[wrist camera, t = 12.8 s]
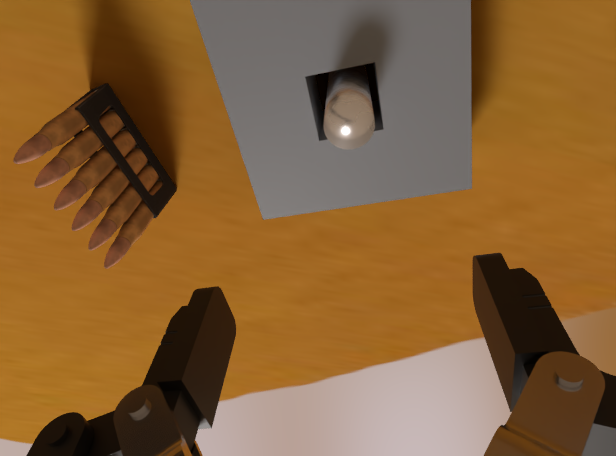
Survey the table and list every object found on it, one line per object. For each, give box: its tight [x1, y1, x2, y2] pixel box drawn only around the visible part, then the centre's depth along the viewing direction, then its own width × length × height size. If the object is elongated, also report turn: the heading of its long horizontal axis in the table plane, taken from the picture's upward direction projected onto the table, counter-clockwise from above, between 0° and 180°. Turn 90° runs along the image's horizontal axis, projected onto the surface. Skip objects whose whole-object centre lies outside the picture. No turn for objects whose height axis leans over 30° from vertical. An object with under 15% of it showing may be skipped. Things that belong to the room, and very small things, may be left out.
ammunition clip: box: [14, 83, 177, 268], centre depth 33 cm, size 11×2×12 cm, turn 22°
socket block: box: [190, 0, 472, 220], centre depth 31 cm, size 16×16×6 cm
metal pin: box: [324, 65, 375, 149], centre depth 29 cm, size 3×3×10 cm
